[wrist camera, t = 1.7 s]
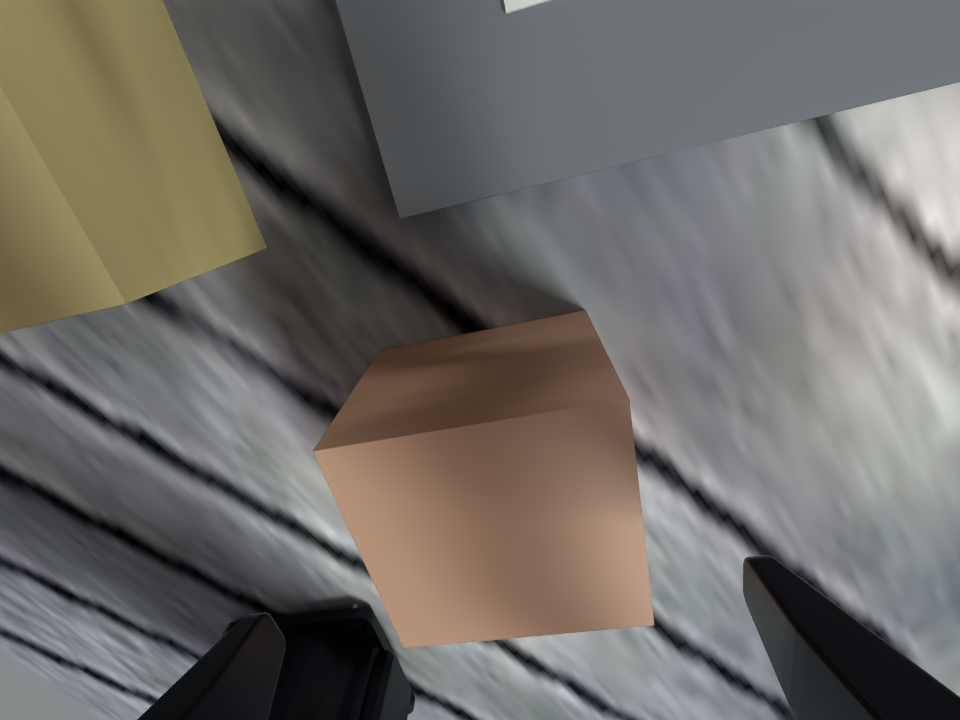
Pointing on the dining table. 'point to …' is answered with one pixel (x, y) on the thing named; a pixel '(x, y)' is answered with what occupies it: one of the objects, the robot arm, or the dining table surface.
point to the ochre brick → (106, 162)
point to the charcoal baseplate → (617, 79)
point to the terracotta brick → (494, 485)
